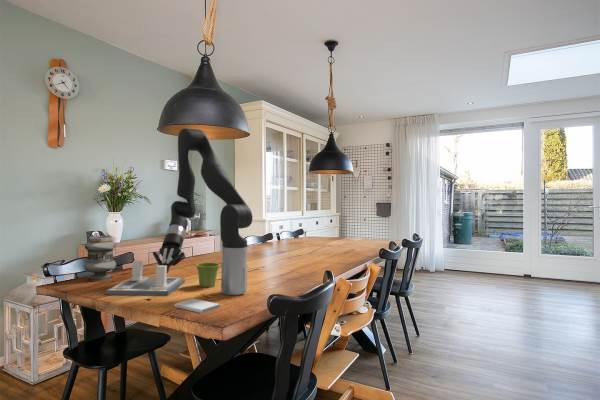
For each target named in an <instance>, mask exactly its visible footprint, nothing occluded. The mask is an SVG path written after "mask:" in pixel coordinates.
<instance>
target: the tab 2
mask: <svg viewBox="0 0 600 400" xmlns="http://www.w3.org/2000/svg"><path fill="white" fill-rule="evenodd" d="M155 270H156V271H155V272H156V274H155V279H156V285H155V288H164V287H165V286H167V283H166V279H167V274H168V273H167V266H163V265H159V264H158V265H157V266H156V269H155Z"/></svg>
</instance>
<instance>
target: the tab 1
mask: <svg viewBox="0 0 600 400" xmlns="http://www.w3.org/2000/svg"><path fill="white" fill-rule="evenodd" d="M143 263H144V262H143V260H133V261H132V267H131V271H132V273H131V278H132V279H131V278H130V279H131V281H140V280H142V279H143V277H144V276H143Z"/></svg>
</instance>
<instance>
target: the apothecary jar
mask: <svg viewBox="0 0 600 400" xmlns="http://www.w3.org/2000/svg"><path fill="white" fill-rule="evenodd" d="M116 247H117V243H116V242H115V241H114V240H113V237H112V235H96V236H94V235H93V236H90V237H89V240H88V241H87V242H85V244H84V249H85V250H86V251H87V260H86V262H85V263H84V265H83V266H84V267H83V268H84V270H85V271H86V272H89V273H92V274H93V275H90V276H88V277H86V281H91V282H99V281H101V282H102V281H109V280H111V279H113V277H114V276H113V275H111V274H108V272H110V271H112V270H114V269H115V268H116V266H117V262H116V260H114V250H115V248H116Z"/></svg>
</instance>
